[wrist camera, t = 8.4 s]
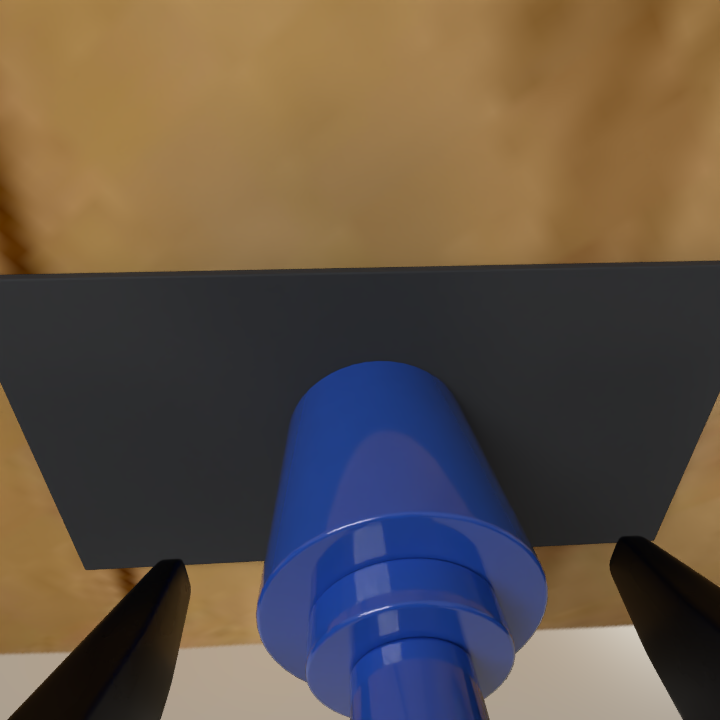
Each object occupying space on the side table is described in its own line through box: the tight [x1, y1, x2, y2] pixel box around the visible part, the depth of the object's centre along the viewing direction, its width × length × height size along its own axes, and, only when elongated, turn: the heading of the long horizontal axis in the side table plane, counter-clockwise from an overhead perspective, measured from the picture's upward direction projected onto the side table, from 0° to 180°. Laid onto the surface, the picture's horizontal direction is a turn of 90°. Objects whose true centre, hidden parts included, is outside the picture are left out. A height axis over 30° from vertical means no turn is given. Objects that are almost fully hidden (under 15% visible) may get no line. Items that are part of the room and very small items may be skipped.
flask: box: [256, 361, 548, 720], centre depth 8 cm, size 5×5×8 cm
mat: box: [0, 261, 720, 570], centre depth 12 cm, size 20×10×1 cm, turn 91°
